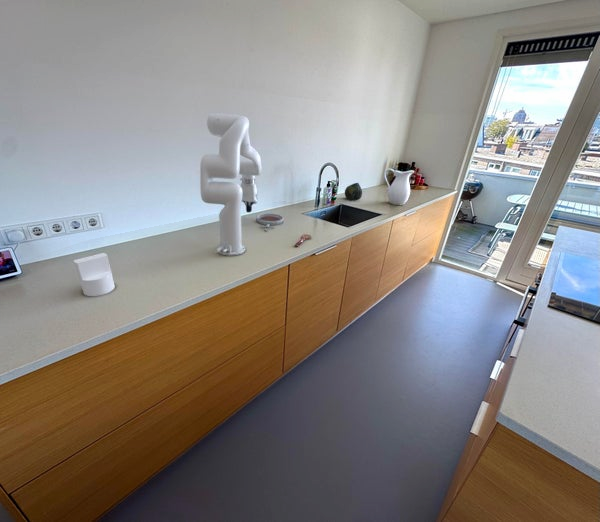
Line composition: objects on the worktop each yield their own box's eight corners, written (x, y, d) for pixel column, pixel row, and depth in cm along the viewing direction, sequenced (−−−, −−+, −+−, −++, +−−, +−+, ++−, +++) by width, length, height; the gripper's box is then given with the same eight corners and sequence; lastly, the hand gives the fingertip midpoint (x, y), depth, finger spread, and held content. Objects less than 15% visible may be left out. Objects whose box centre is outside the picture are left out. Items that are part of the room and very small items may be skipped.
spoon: (300, 248, 143) (300, 245, 142) (291, 246, 145) (291, 243, 144) (312, 237, 158) (312, 234, 158) (303, 235, 160) (304, 232, 159)
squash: (338, 191, 245) (351, 180, 235) (347, 190, 256) (359, 179, 246) (347, 205, 243) (360, 194, 233) (356, 203, 254) (368, 192, 244)
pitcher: (409, 203, 247) (417, 170, 235) (404, 207, 234) (412, 172, 222) (382, 198, 258) (388, 166, 246) (376, 202, 245) (382, 168, 232)
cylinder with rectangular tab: (108, 280, 105) (101, 250, 100) (119, 289, 100) (111, 258, 95) (79, 289, 98) (69, 257, 93) (89, 299, 94) (79, 266, 88)
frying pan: (250, 226, 160) (258, 211, 185) (250, 231, 161) (258, 216, 186) (280, 229, 160) (284, 213, 185) (280, 233, 161) (284, 218, 186)
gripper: (234, 180, 167) (235, 211, 175) (256, 184, 162) (256, 215, 170) (241, 178, 173) (241, 208, 181) (262, 182, 169) (262, 212, 177)
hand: (248, 211), depth 176 cm, fingers closed
